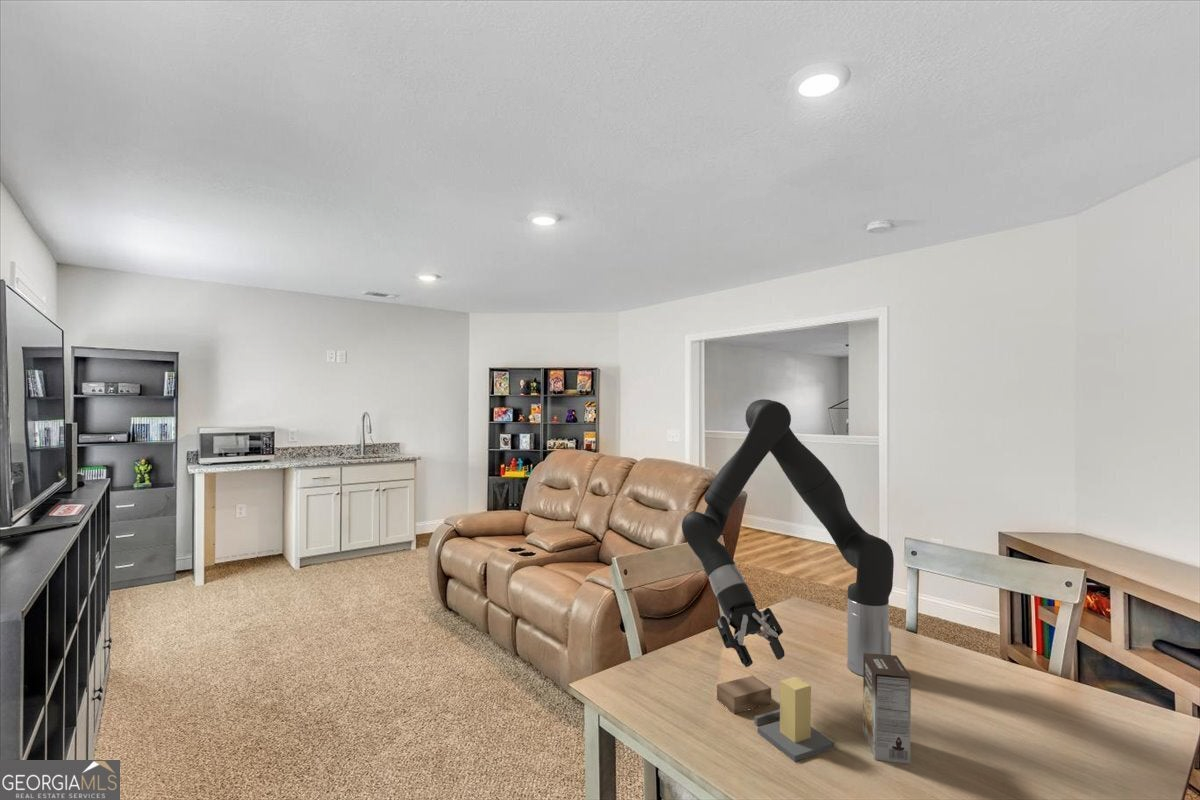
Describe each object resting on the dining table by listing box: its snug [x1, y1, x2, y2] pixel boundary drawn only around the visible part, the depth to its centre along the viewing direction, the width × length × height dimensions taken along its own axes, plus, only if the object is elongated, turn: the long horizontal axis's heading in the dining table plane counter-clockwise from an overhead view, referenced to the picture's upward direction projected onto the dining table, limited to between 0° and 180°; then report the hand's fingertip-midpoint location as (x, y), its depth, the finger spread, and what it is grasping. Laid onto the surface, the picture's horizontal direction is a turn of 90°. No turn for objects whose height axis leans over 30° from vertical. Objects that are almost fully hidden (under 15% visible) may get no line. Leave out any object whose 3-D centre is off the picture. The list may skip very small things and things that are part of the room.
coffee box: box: [862, 653, 912, 765], centre depth 107 cm, size 9×6×16 cm
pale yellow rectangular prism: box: [779, 676, 812, 743], centre depth 109 cm, size 4×4×10 cm
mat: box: [757, 720, 836, 763], centre depth 109 cm, size 10×10×1 cm
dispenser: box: [716, 675, 780, 727], centre depth 121 cm, size 10×11×4 cm
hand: (765, 661), depth 117 cm, fingers open, 8 cm apart
